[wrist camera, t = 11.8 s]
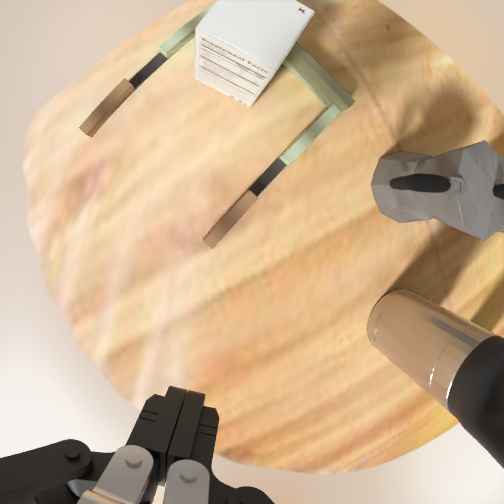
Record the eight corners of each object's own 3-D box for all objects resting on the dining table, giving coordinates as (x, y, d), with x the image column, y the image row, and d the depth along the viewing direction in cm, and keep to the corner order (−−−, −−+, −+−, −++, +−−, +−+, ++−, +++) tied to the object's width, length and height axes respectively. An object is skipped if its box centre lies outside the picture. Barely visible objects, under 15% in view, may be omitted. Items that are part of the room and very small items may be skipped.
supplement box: (225, 32, 31) (241, -30, 19) (280, 62, 33) (319, 11, 21) (191, 79, 32) (192, 27, 19) (249, 110, 33) (279, 71, 21)
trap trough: (222, 4, 30) (226, -13, 26) (340, 109, 35) (355, 101, 31) (84, 131, 30) (72, 124, 26) (211, 245, 35) (213, 252, 31)
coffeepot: (435, 156, 38) (539, 151, 21) (434, 223, 40) (537, 244, 23) (339, 143, 36) (443, 116, 18) (339, 223, 37) (443, 249, 20)
